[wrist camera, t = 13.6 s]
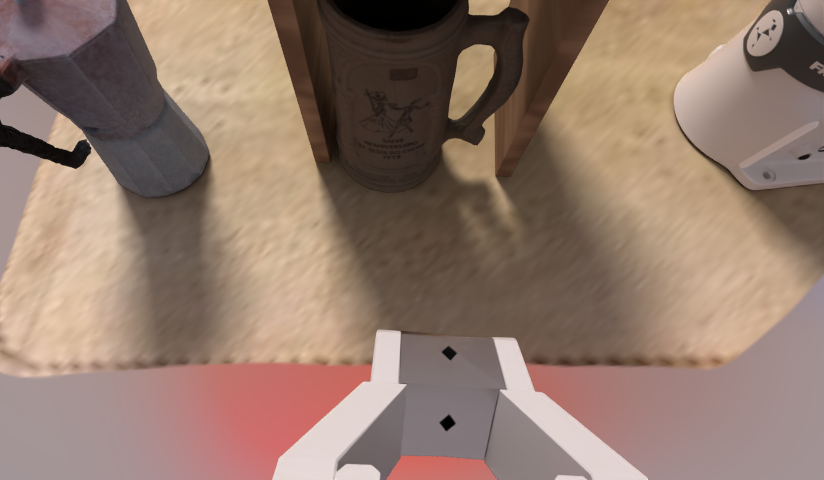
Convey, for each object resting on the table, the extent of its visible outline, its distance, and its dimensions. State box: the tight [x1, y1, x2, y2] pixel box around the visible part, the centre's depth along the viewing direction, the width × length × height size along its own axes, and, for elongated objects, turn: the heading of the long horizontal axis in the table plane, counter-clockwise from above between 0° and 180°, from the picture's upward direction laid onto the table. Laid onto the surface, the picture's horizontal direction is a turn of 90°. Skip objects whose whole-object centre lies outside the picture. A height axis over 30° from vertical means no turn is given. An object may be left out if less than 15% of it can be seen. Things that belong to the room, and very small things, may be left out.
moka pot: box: [0, 0, 209, 198], centre depth 34 cm, size 10×15×20 cm, turn 174°
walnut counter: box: [268, 0, 609, 177], centre depth 34 cm, size 22×18×27 cm
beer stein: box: [317, 0, 530, 192], centre depth 36 cm, size 15×11×20 cm
